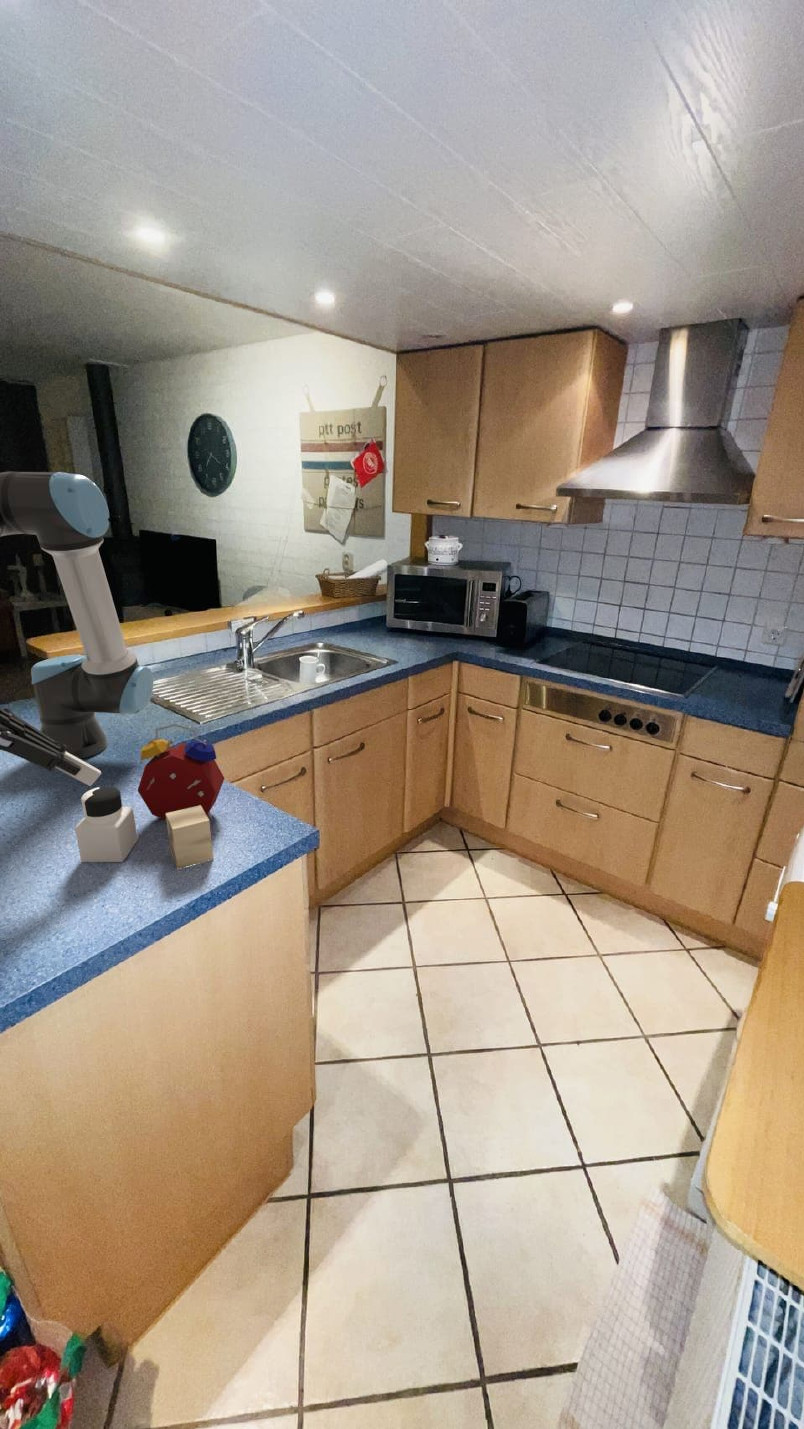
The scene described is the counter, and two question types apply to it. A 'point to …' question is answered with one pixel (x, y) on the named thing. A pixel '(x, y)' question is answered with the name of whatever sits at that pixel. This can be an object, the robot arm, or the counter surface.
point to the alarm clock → (179, 775)
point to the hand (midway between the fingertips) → (95, 778)
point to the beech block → (189, 836)
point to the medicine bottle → (105, 827)
